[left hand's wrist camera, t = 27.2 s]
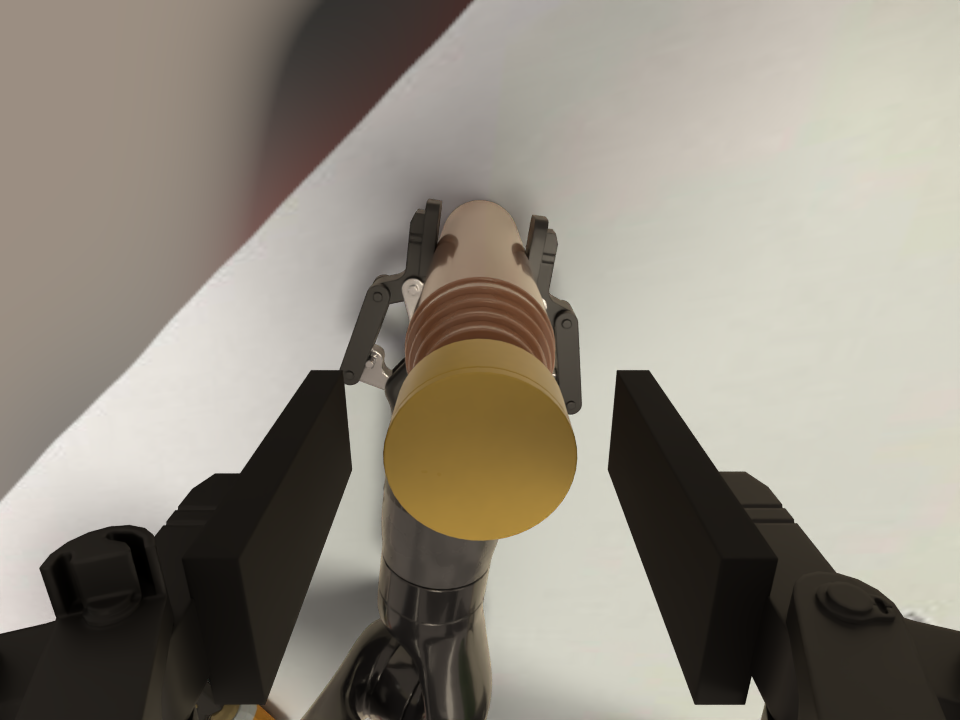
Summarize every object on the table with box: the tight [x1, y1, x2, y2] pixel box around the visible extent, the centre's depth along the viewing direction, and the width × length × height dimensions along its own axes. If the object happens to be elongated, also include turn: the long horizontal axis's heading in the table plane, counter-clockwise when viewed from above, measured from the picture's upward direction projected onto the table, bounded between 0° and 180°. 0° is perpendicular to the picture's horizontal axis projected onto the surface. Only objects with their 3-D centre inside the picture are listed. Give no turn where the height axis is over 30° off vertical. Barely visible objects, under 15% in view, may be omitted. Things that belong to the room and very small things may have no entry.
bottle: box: [405, 200, 555, 374], centre depth 25 cm, size 5×5×26 cm
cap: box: [383, 339, 577, 541], centre depth 14 cm, size 4×4×2 cm
